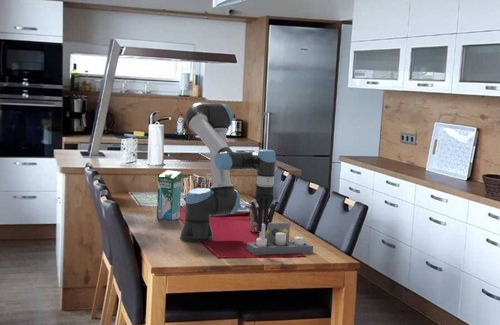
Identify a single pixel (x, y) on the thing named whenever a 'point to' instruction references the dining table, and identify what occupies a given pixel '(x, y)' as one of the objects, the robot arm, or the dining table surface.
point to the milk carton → (169, 195)
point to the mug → (253, 224)
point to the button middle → (280, 239)
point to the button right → (298, 241)
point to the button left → (261, 242)
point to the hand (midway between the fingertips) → (261, 238)
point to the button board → (280, 248)
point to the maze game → (243, 210)
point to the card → (276, 231)
